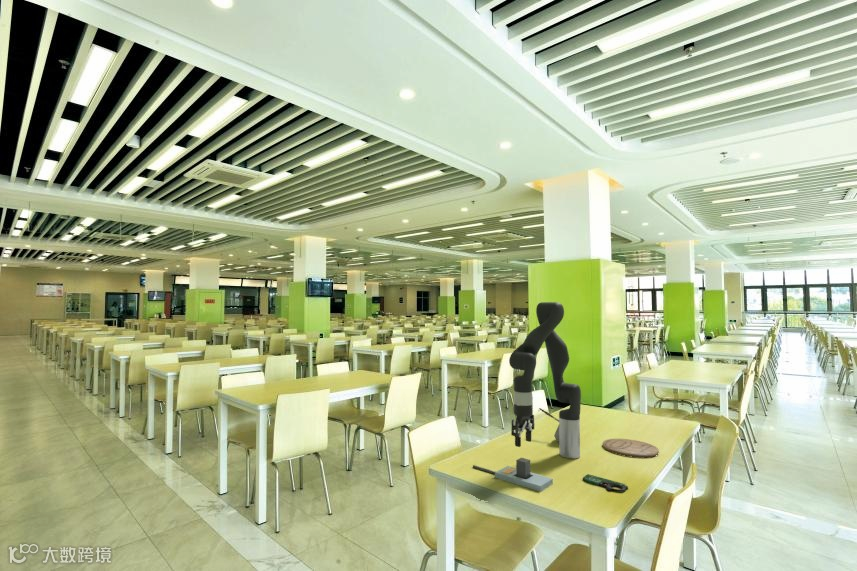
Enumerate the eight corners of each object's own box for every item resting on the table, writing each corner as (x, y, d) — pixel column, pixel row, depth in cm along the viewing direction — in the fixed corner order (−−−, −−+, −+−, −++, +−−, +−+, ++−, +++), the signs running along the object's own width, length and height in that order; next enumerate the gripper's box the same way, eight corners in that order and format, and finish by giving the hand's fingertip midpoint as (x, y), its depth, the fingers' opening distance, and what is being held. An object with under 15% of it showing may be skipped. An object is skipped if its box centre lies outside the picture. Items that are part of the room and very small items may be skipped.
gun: (578, 480, 166) (588, 473, 174) (578, 483, 166) (588, 476, 174) (621, 492, 155) (630, 484, 163) (621, 496, 155) (630, 488, 163)
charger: (521, 477, 170) (521, 457, 171) (530, 480, 168) (530, 459, 168) (516, 480, 167) (516, 460, 168) (525, 483, 165) (525, 462, 165)
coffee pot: (581, 442, 219) (581, 412, 220) (571, 447, 211) (571, 416, 212) (543, 433, 234) (543, 406, 235) (533, 438, 226) (533, 409, 227)
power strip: (482, 463, 187) (482, 458, 187) (552, 483, 165) (552, 478, 165) (468, 469, 179) (468, 463, 179) (540, 491, 157) (540, 485, 157)
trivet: (664, 449, 210) (664, 445, 210) (651, 462, 191) (651, 458, 191) (611, 439, 226) (611, 435, 226) (595, 450, 207) (595, 446, 208)
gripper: (523, 398, 177) (523, 437, 176) (505, 404, 167) (505, 446, 166) (539, 401, 172) (540, 441, 171) (522, 407, 162) (522, 450, 161)
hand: (523, 443), depth 169 cm, fingers open, 8 cm apart
